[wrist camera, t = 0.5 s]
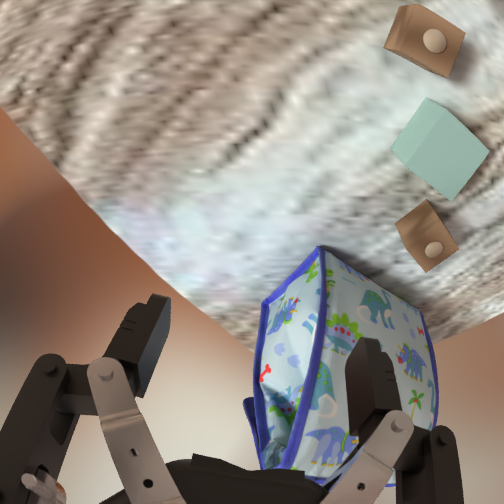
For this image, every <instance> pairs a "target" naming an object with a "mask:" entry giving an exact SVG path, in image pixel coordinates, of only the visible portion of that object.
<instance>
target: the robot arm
mask: <svg viewBox="0 0 504 504" xmlns="http://www.w3.org/2000/svg"><path fill="white" fill-rule="evenodd" d="M170 310H171V299H170V298H169V297H165V296H162V295H158V294H154V293H153V294H152V295H151V297H150V298H149V300H148V302H147V304H143V303H137V304H135V305H134V306H133V307H132V308H130V309H129V310H128V312H127V314H126V316H125V317H124V320H123V321H122V323H121V324H120V327H119V328H118V330H117V332H116V333H115V335H114V337H113V339H112V341H111V342H110V344H109V346H108V348H107V350H106V352H105V354H104V355H103V356H102V358H98V359H96V360H94V361H93V362H92V363H91V364H87V365H78V364H66V363H65V360H64V359H63V358H62V357H61V356H59V355H57V354H45V355H43V356H41V357H40V358H38V360H37V361H36V362H35V364H34V366H33V367H32V369H31V371H30V373H29V375H28V377H27V378H26V380H25V382H24V384H23V386H22V388H21V390H20V392H19V394H18V396H17V398H16V400H15V402H14V404H13V406H12V408H11V410H10V412H9V414H8V416H7V418H6V420H5V422H4V425H3V427H2V429H1V431H0V504H66V493H65V490H64V488H63V487H62V485H61V484H60V483H58V482H57V478H58V475H59V472H60V469H61V466H62V463H63V461H64V458H65V455H66V452H67V449H68V446H69V444H70V441H71V438H72V435H73V433H74V430H75V427H76V425H77V422H78V419H79V417H80V415H96V416H99V419H100V422H101V428H102V431H103V434H104V437H105V440H106V443H107V445H108V448H109V451H110V453H111V456H112V459H113V461H114V464H115V466H116V469H117V471H118V474H119V477H120V479H121V481H122V484H123V486H124V488H125V489H123V490H121V491H120V492H118V493H116V494H115V495H113V496H111V497H109V498H108V499H106V500H104V501H102V502H101V503H99V504H373V503H374V502H375V500H376V499H377V497H378V496H379V495H380V493H381V492H382V490H383V489H384V487H385V486H386V484H387V483H388V481H389V480H390V478H391V476H392V475H393V472H394V470H392V468H393V469H395V476H396V504H464V498H463V488H462V479H461V472H460V464H459V457H458V451H457V445H456V439H455V436H454V434H453V432H452V431H451V430H450V429H449V428H448V427H446V426H442V425H439V426H436V427H434V428H433V429H432V430H431V431H430V430H427V429H424V428H421V427H418V426H416V425H414V424H413V421H412V419H411V418H410V417H409V415H407V414H406V413H405V412H403V410H402V405H401V400H400V395H399V390H398V385H397V382H396V376H395V374H394V372H395V371H394V366H393V362H392V360H391V359H390V357H389V356H388V354H387V353H386V352H381V347H380V342H379V340H378V339H374V338H368V337H360V338H359V340H358V341H357V343H356V345H355V347H354V348H353V350H352V352H351V353H350V355H349V357H348V359H347V361H346V364H345V382H346V393H347V406H348V419H349V435H350V436H357V437H359V442H358V443H357V444H356V445H355V447H354V448H353V449H352V451H351V452H350V453H349V454H348V456H347V457H346V458H345V459H344V461H343V462H342V463H341V464H340V465H339V467H338V468H337V469H336V470H335V471H334V473H333V474H332V475H331V476H330V477H329V478H328V479H327V480H326V481H325V482H324V483H323V484H322V485H319V484H318V483H316V482H315V481H313V480H311V479H308V478H306V477H305V471H303V470H291V469H282V468H275V469H265V470H255V471H249V470H245V469H243V468H240V467H238V466H235V465H233V464H230V463H228V462H226V461H224V460H221V459H217V458H212V457H207V456H203V455H198V454H194V453H193V456H192V459H183V460H176V461H172V462H169V463H166V464H165V463H164V461H163V459H162V457H161V455H160V453H159V451H158V449H157V446H156V444H155V442H154V440H153V438H152V436H151V433H150V431H149V429H148V427H147V424H146V422H145V419H144V417H143V415H142V413H140V411H139V409H138V406H137V404H136V401H135V397H136V396H137V397H140V398H143V397H144V395H145V392H146V390H147V387H148V384H149V382H150V379H151V377H152V374H153V372H154V369H155V366H156V364H157V362H158V359H159V357H160V354H161V352H162V349H163V346H164V344H165V342H166V339H167V337H168V334H169V329H170V314H171V312H170Z"/></svg>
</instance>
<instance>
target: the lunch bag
mask: <svg viewBox="0 0 504 504" xmlns="http://www.w3.org/2000/svg"><path fill="white" fill-rule="evenodd" d="M360 337H368V338H374V339H378V340H379V342H380V347H381V352H386V353H387V354H388V356H389V357H390V359H391V360H392V362H393V366H394V371H395V372H394V374H395V376H396V382H397V385H398V390H399V395H400V400H401V405H402V410H403V412H405V413H406V414H407V415H409V417H410V418H411V419H412V421H413V424H414V425H416V426H418V427H421V428H424V429H427V430H430V431H431V430H432V429H433V428H434V427H436V422H437V417H438V404H439V401H438V399H439V395H438V394H439V390H438V377H437V368H436V360H435V354H434V351H433V346H432V342H431V339H430V336H429V333H428V330H427V327H426V325H425V322H424V318H423V315H422V313H421V312H420V311H419V310H418V309H417V308H415V307H413V306H411V305H410V304H408V303H407V302H405V301H403V300H402V299H400V298H398V297H396V296H395V295H393V294H391V293H390V292H388V291H387V290H385V289H383V288H382V287H380V286H379V285H377V284H376V283H374V282H373V281H371V280H370V279H368V278H367V277H365V276H364V275H362V274H361V273H359V272H357V271H356V270H354V269H353V268H351V267H350V266H348V265H347V264H345V263H344V262H342V261H341V260H339V259H338V258H336V257H335V256H333V255H332V254H331V253H329V252H327V251H325V250H324V249H322V248H321V247H319V246H316V248H315V249H314V251H313V252H312V253H311V254H310V255H309V256H308V257H307V259H306V260H305V261H304V262H303V263H302V264H301V265H300V266H299V267H298V268H297V269H296V270H295V271H294V272H293V273H292V274H291V275H290V276H289V277H288V278H287V279H286V280H285V281H284V282H283V283H282V284H281V285H280V286H279V287H278V288H277V289H276V290H275V291H274V292H273V293H272V294H271V295H270V296H269V297H267V298H266V299H265V300H264V301H263V302H262V304H261V315H260V323H259V330H258V337H257V343H256V350H255V357H254V366H253V393H254V397H249V398H246V399H244V401H243V407H244V410H245V414H246V416H247V419H248V421H249V423H250V426H251V429H252V433H253V437H254V442H255V447H256V450H257V455H258V459H259V464H260V469H261V470H265V469H275V468H282V469H291V470H303V471H305V477H306V478H308V479H311V480H313V481H315V482H316V483H318V484H323V483H324V482H325V481H326V480H327V479H328V478H329V477H330V476H331V475H332V474H333V473H334V471H335V470H336V469H337V468H338V467H339V465H340V464H341V463H342V462H343V461H344V459H345V458H346V457H347V456H348V454H349V453H350V452H351V451H352V449H353V448H354V447H355V445H356V444H357V443H358V442H359V437H357V436H350V435H349V419H348V406H347V393H346V382H345V364H346V361H347V359H348V357H349V355H350V353H351V352H352V350H353V348H354V347H355V345H356V343H357V341H358V340H359V338H360ZM392 470H394V472H393V475H392V476H391V478H390V480H389V481H388V483H387V484H386V486H385V487H393V486H396V476H395V469H393V468H392Z"/></svg>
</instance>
